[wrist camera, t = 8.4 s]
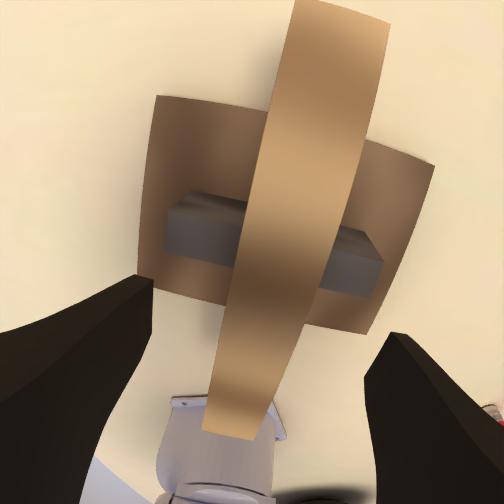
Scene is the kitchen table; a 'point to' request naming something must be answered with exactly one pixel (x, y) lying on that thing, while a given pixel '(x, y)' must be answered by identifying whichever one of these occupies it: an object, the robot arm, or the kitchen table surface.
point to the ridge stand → (235, 204)
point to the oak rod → (294, 204)
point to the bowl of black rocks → (322, 502)
